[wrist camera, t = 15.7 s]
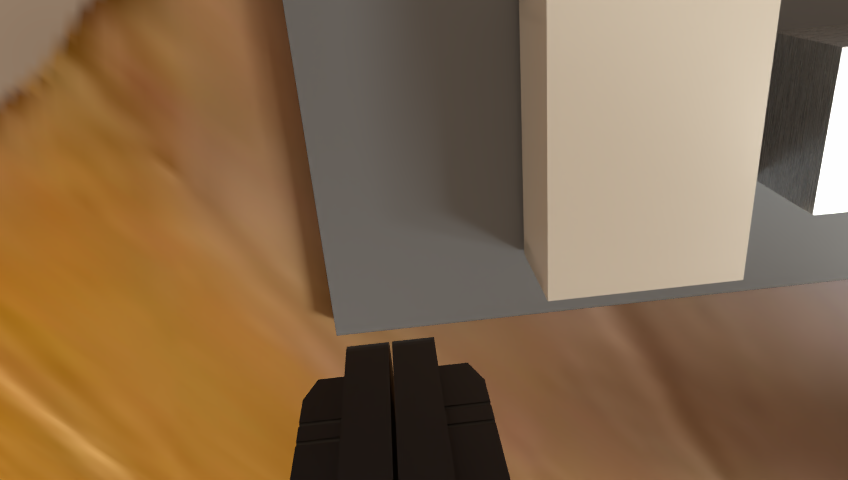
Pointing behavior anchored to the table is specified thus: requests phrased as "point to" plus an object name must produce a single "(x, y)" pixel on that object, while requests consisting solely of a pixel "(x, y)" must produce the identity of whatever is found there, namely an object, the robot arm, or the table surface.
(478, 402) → the robot arm
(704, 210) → the cover
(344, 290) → the plate
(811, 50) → the frame
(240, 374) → the table surface
